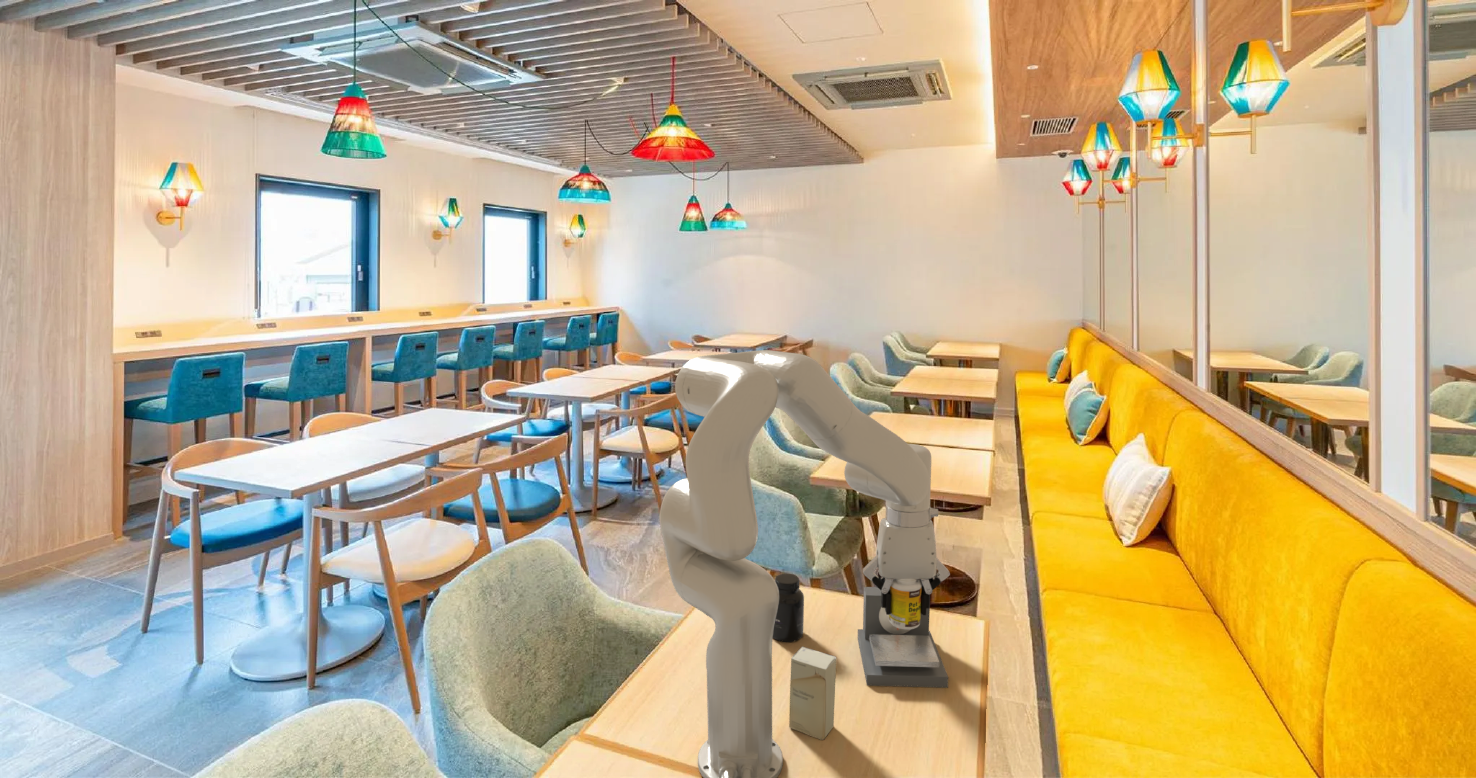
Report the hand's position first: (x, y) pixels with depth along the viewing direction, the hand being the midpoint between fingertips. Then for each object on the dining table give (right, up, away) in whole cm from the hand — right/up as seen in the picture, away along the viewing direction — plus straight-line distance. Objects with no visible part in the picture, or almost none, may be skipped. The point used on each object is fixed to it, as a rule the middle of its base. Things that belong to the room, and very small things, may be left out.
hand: (904, 610), depth 128 cm
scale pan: (0, -9, +1) cm, 9 cm away
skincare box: (-18, -15, -14) cm, 27 cm away
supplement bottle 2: (0, -3, 0) cm, 3 cm away
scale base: (0, -11, +5) cm, 12 cm away
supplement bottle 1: (-20, -10, +15) cm, 27 cm away
